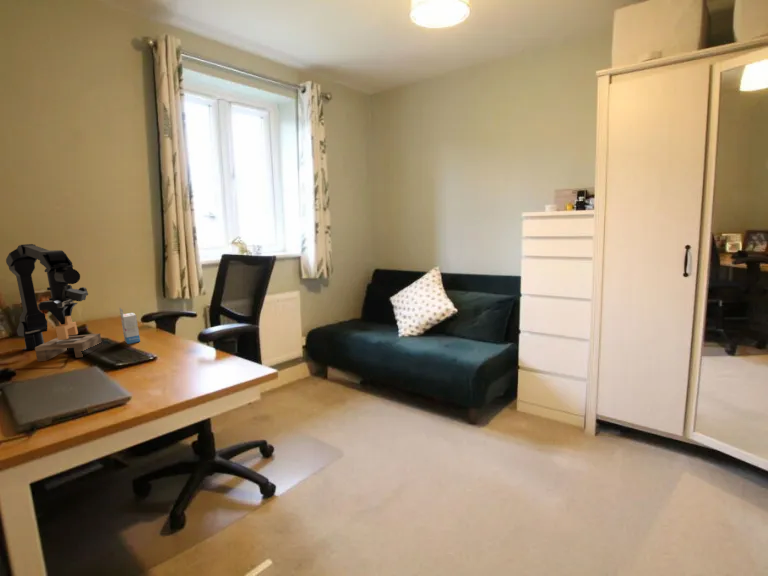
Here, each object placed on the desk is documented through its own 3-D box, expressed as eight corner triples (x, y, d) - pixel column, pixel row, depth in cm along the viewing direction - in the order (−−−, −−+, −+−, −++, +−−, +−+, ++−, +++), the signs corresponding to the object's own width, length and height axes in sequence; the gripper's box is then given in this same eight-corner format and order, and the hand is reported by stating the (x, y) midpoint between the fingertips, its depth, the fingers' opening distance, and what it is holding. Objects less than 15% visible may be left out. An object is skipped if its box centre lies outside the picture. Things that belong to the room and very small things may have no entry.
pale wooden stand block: (69, 334, 167) (66, 315, 166) (78, 333, 168) (74, 314, 167) (58, 339, 160) (54, 319, 158) (66, 339, 160) (62, 318, 159)
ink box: (141, 341, 177) (135, 307, 174) (127, 344, 174) (121, 309, 171) (137, 338, 183) (132, 305, 181) (124, 340, 180) (118, 307, 178)
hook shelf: (59, 350, 170) (57, 337, 170) (102, 346, 173) (100, 333, 172) (37, 361, 157) (34, 347, 156) (84, 356, 159) (81, 342, 158)
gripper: (67, 285, 152) (75, 326, 155) (93, 278, 171) (100, 316, 173) (33, 287, 151) (41, 329, 153) (63, 281, 169) (70, 318, 171)
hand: (65, 323), depth 163 cm, fingers closed on pale wooden stand block, 3 cm apart
